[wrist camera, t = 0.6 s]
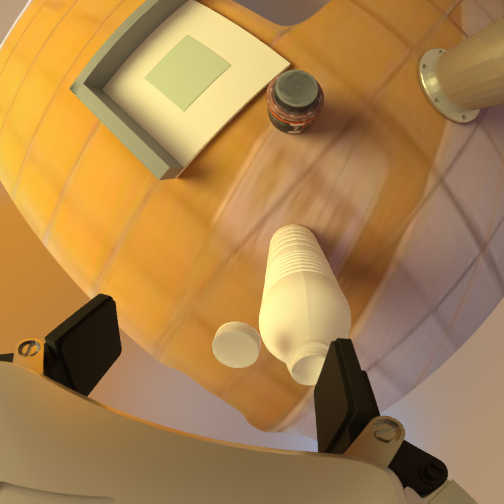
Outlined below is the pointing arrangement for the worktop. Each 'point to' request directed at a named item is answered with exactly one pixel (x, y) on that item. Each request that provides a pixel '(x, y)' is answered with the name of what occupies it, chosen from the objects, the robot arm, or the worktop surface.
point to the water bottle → (291, 310)
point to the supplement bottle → (294, 101)
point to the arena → (174, 81)
